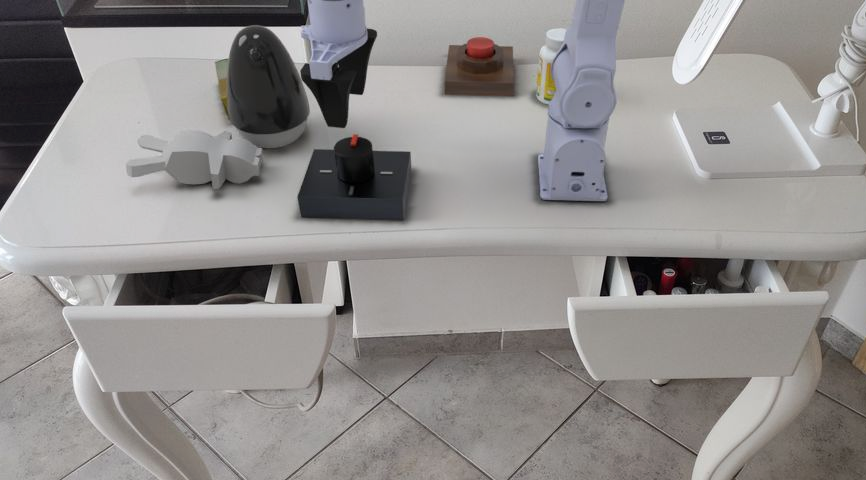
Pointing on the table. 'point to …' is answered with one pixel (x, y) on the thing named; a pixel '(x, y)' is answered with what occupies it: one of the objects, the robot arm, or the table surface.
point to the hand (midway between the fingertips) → (346, 109)
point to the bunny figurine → (199, 158)
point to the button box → (479, 72)
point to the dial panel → (356, 188)
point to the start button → (480, 48)
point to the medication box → (223, 81)
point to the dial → (354, 159)
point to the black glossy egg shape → (265, 90)
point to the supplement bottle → (548, 65)
